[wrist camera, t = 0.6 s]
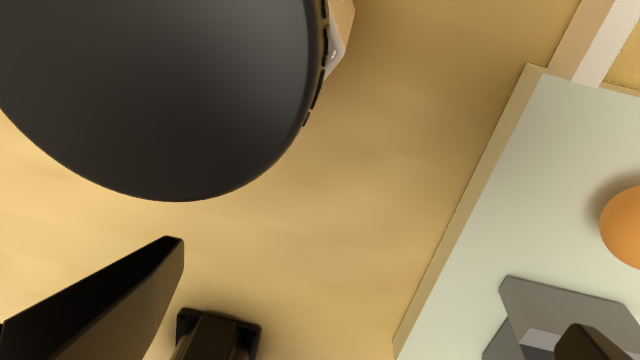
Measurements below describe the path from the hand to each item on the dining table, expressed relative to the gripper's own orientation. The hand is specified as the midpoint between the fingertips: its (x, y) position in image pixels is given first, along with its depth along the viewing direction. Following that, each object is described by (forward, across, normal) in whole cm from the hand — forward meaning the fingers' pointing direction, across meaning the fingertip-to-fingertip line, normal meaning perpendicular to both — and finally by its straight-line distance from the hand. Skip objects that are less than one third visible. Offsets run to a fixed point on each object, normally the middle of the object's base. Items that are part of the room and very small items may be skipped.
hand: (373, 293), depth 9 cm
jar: (+14, +6, -4) cm, 16 cm away
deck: (+13, -14, +7) cm, 20 cm away
